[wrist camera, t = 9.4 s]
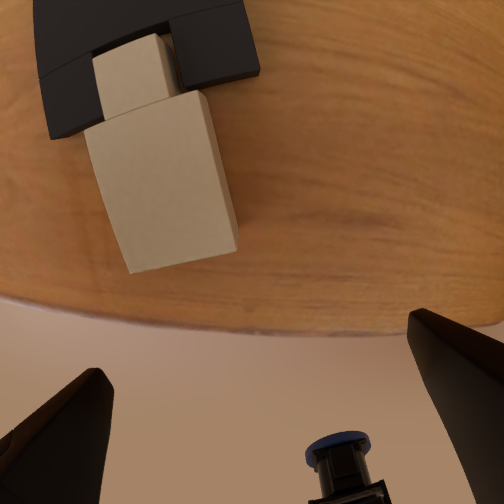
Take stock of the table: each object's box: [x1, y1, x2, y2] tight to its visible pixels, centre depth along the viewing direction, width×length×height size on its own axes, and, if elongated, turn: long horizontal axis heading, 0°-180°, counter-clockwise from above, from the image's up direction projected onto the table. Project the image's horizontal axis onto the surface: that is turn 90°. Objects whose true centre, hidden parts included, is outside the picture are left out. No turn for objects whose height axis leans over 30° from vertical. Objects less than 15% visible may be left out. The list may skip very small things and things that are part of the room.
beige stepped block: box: [84, 33, 239, 274], centre depth 15 cm, size 12×6×3 cm, turn 12°
